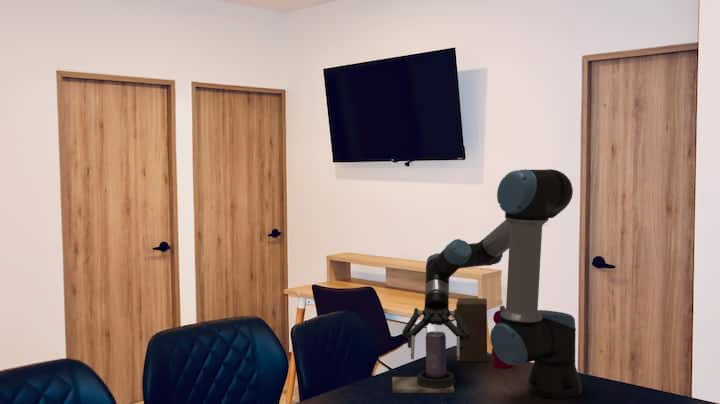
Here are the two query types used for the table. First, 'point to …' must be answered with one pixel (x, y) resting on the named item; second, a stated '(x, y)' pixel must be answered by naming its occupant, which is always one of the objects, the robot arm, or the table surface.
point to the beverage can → (435, 355)
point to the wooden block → (473, 329)
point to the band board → (414, 387)
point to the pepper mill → (496, 361)
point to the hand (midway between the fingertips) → (435, 357)
